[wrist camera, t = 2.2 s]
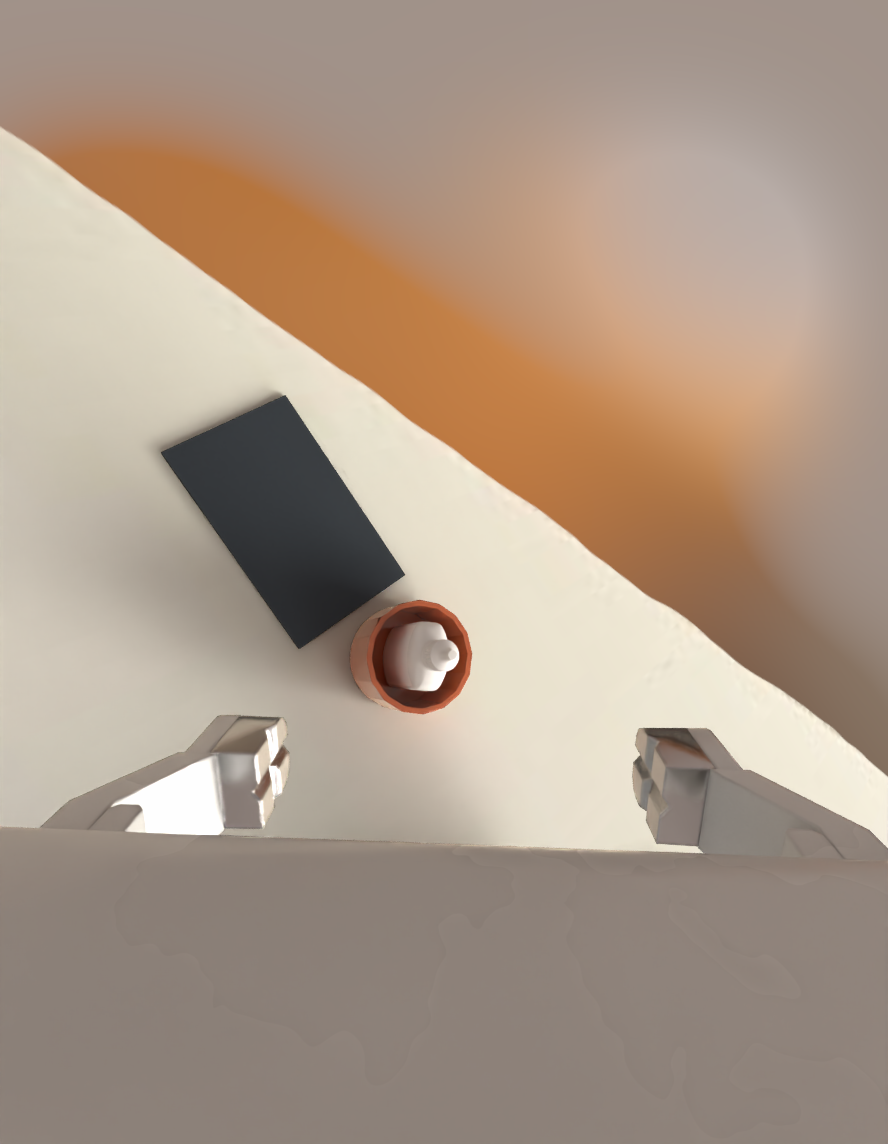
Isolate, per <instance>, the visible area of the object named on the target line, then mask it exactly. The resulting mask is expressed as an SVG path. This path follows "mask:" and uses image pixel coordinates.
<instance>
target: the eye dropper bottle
mask: <svg viewBox="0 0 888 1144" xmlns="http://www.w3.org/2000/svg"><path fill="white" fill-rule="evenodd" d="M458 660H459V651H458V648H457V646H456V645H455V644H454V643H453V642H451V641H450V640H447V637H446V634H445V631H444V629H443V627H442V626H441V625H440V624H438V623H434V622H416V623H410V624H405V625H400V626H396V627H394V628H393V629H391V631H390V633H389V635H388V637H387V640H386V643H385V646H384V651H383V669H384V674H385V678H386V681H387V683H388V685H389V686H391V687H394V688H401V689H410V690H420V691H434V690H437V689H438V688H439V687H440V685H441V683H442V681H443V679H444V677H445V674H446V671H449V670H452V669H453V668H454V667H455V666H456V664H457V663H458Z"/></svg>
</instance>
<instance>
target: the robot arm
mask: <svg viewBox="0 0 888 1144" xmlns="http://www.w3.org/2000/svg"><path fill="white" fill-rule="evenodd" d="M287 735H288V733H287V724H286V721H285V719H284V718H282V717H261V716H241V715H220V716H217V717H216V718H215V719H214V720H213V722H212V723H211V724H210V725H209V726H208V727H207V728H206V729H205V730H204V732H203V733H202V734H201V735H200V736H199V737H198V738H197V739H196V741H195V742H194V743H193V744H192V745H191V746H190V747H189V748H188V749H187V751H186V752H178V753H175V754H173V755H171V756H169V757H166V758H164V759H162V760H160V761H157V762H155V763H153V764H151V765H148V766H146V767H144V768H142V769H139V770H137V771H135V772H133V773H130V774H128V775H126V776H123V777H121V778H119V779H117V780H114V781H112V782H110V783H108V784H105V785H103V786H101V787H99V788H96V789H94V790H92V791H90V792H87V793H85V794H83V795H81V796H78V797H76V798H74V799H72V800H69V801H68V802H67V803H66V804H65V805H64V806H63V807H61V808H60V809H59V810H58V811H57V812H56V813H55V814H54V815H53V816H52V817H51V818H49V819H48V820H47V821H46V822H45V823H44V824H43V825H42V826H41V827H40V828H23V827H0V1144H888V848H887V847H886V846H885V845H884V844H883V843H882V842H881V841H880V840H879V839H878V838H877V837H876V836H875V835H874V834H873V833H872V832H871V831H870V830H868V829H866V828H864V827H862V826H860V825H858V824H856V823H854V822H852V821H850V820H848V819H846V818H844V817H842V816H840V815H838V814H836V813H834V812H832V811H830V810H828V809H826V808H824V807H822V806H820V805H818V804H816V803H814V802H813V801H811V800H809V799H807V798H805V797H803V796H801V795H799V794H797V793H795V792H793V791H791V790H789V789H787V788H785V787H783V786H781V785H779V784H777V783H775V782H773V781H771V780H769V779H767V778H765V777H763V776H761V775H759V774H757V773H755V772H753V771H751V770H743V769H742V768H741V767H740V765H739V764H738V763H737V762H736V761H735V759H734V758H733V757H732V756H731V754H730V753H729V752H728V751H727V750H726V748H725V747H724V746H723V745H722V743H721V742H720V741H719V740H718V739H717V737H716V736H715V735H714V734H713V733H712V731H711V730H709V729H707V728H639V729H638V732H637V735H636V743H635V746H636V748H637V750H638V752H639V753H640V756H639V757H638V758H637V759H636V760H635V761H634V762H633V773H632V778H633V789H634V793H635V797H636V800H637V802H638V804H639V806H640V807H641V808H643V809H644V810H645V811H647V815H646V822H647V824H648V826H649V829H650V831H651V833H652V835H653V837H654V839H655V841H656V844H670V845H686V846H699V847H698V848H699V849H700V850H701V851H702V852H703V853H705V854H702V853H676V852H649V851H623V850H597V849H571V848H544V847H518V846H492V845H466V844H440V843H414V842H388V841H362V840H336V839H310V838H284V837H258V836H231V835H219V834H220V833H221V832H223V831H224V828H237V829H263V828H264V826H265V825H266V823H267V821H268V819H269V817H270V815H271V813H272V811H273V809H274V808H275V806H274V798H276V797H277V796H279V795H280V794H282V792H283V790H284V788H285V786H286V783H287V779H288V775H289V765H290V758H289V751H288V750H287V749H286V748H285V746H284V745H283V742H284V740H285V739H286V737H287Z"/></svg>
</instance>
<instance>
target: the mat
mask: <svg viewBox="0 0 888 1144" xmlns="http://www.w3.org/2000/svg"><path fill="white" fill-rule="evenodd" d="M161 453H162V455H163V457H164V458H165V460H166V461H167V462H168V464H169V465H170V467H171V468H172V470H173V471H174V472H175V474H176V475H177V477H178V478H179V479H180V481H181V482H182V484H183V485H184V487H185V488H186V489H187V491H188V492H189V494H190V495H191V497H192V498H193V499H194V501H195V502H196V504H197V505H198V506H199V508H200V509H201V511H202V512H203V514H204V515H205V516H206V518H207V519H208V521H209V522H210V524H211V525H212V526H213V528H214V529H215V531H216V532H217V534H218V535H219V536H220V538H221V539H222V541H223V542H224V543H225V545H226V546H227V548H228V549H229V551H230V552H231V553H232V555H233V556H234V558H235V559H236V561H237V562H238V563H239V565H240V566H241V568H242V569H243V571H244V572H245V573H246V575H247V576H248V578H249V579H250V580H251V582H252V583H253V585H254V586H255V588H256V589H257V590H258V592H259V593H260V595H261V596H262V598H263V599H264V600H265V602H266V603H267V605H268V606H269V607H270V609H271V610H272V612H273V613H274V615H275V616H276V617H277V619H278V620H279V622H280V623H281V625H282V626H283V627H284V629H285V630H286V632H287V633H288V635H289V636H290V637H291V639H292V640H293V642H294V643H295V644H296V646H297V647H298V649H300V648H301V647H303V646H304V645H306V644H307V643H309V642H310V641H311V640H313V639H314V638H316V637H317V636H319V635H320V634H321V633H323V632H324V631H326V630H327V629H329V628H330V627H331V626H333V625H334V624H336V623H337V622H339V621H340V620H341V619H343V618H344V617H346V616H347V615H349V614H350V613H351V612H353V611H354V610H356V609H357V608H359V607H360V606H361V605H363V604H364V603H366V602H367V601H369V600H370V599H371V598H373V597H374V596H376V595H377V594H379V593H380V592H381V591H383V590H384V589H386V588H387V587H389V586H390V585H391V584H393V583H394V582H396V581H397V580H399V579H400V578H401V577H403V576H404V575H405V574H404V572H403V571H402V569H401V568H400V566H399V565H398V563H397V562H396V560H395V559H394V557H393V556H392V554H391V553H390V551H389V550H388V548H387V547H386V545H385V544H384V542H383V541H382V539H381V538H380V536H379V535H378V533H377V532H376V530H375V529H374V527H373V526H372V524H371V523H370V521H369V520H368V518H367V517H366V515H365V514H364V512H363V511H362V509H361V508H360V506H359V505H358V503H357V502H356V500H355V499H354V497H353V496H352V494H351V493H350V491H349V490H348V488H347V487H346V485H345V484H344V482H343V481H342V479H341V478H340V476H339V475H338V473H337V472H336V470H335V469H334V467H333V466H332V464H331V463H330V461H329V460H328V458H327V457H326V455H325V454H324V452H323V451H322V449H321V448H320V446H319V445H318V443H317V442H316V440H315V439H314V437H313V436H312V434H311V433H310V431H309V430H308V428H307V427H306V425H305V424H304V422H303V421H302V419H301V418H300V416H299V415H298V413H297V412H296V410H295V409H294V407H293V406H292V404H291V403H290V401H289V400H288V398H287V397H286V395H285V396H282V397H280V398H278V399H276V400H274V401H272V402H269V403H267V404H265V405H263V406H261V407H258V408H256V409H254V410H252V411H250V412H248V413H245V414H243V415H241V416H239V417H237V418H235V419H232V420H230V421H228V422H226V423H224V424H221V425H219V426H217V427H215V428H213V429H211V430H208V431H206V432H204V433H202V434H200V435H198V436H195V437H193V438H191V439H189V440H187V441H185V442H182V443H180V444H178V445H176V446H174V447H171V448H169V449H167V450H165V451H163V452H161Z"/></svg>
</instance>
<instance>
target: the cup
mask: <svg viewBox="0 0 888 1144" xmlns="http://www.w3.org/2000/svg"><path fill="white" fill-rule="evenodd" d="M416 622H434V623H438V624H440V625H441V626H442V627H443V629H444V631H445V634H446V637H447V640H450V641H451V642H453V643H454V644H455V645H456V646H457V648H458V651H459V660H458V663H457V664H456V666H455V667H454V668H453V669H452V670H449V671H446V674H445V677H444V679H443V681H442V683H441V685H440V687H439V688H438V689H437V690H434V691H420V690H410V689H401V688H394V687H391V686H389V685H388V683H387V681H386V678H385V674H384V669H383V651H384V646H385V643H386V640H387V637H388V635H389V633H390V631H391V629H393V628H394V627H396V626H400V625H405V624H410V623H416ZM471 659H472V651H471V647H470V642H469V638H468V634H467V632H466V630H465V629H464V627H463V626H462V624H461V623H460V621H459V620H458V618H457V617H456V615H454V614H453V613H451V612H450V611H448V610H447V609H446V608H444V607H443V606H441V605H440V604H437V603H432V602H427V601H422V600H416V601H412V602H407V603H402V604H398V605H395V606H392V607H389V608H386V609H382V610H380V611H378V612H377V613H375V614H374V615H372V616H371V617H369V618H368V619H367V620H366V621H364V622H363V624H362V625H361V627H360V628H359V629H358V631H357V633H356V635H355V637H354V639H353V642H352V646H351V651H350V666H351V671H352V674H353V677H354V680H355V682H356V684H357V685H358V687H359V688H360V690H361V691H362V692H363V693H364V695H365V696H366V697H368V698H369V699H371V700H372V701H373V702H375V703H377V704H379V705H381V706H382V707H386V708H390V709H394V710H398V711H402V712H409V713H417V714H426V713H429V712H433V711H436V710H439V709H442V708H444V707H445V706H447V705H448V704H449V703H450V702H451V701H452V700H453V699H455V698H456V697H457V696H458V695H459V694H460V692H461V691H462V689H463V687H464V685H465V683H466V681H467V679H468V677H469V675H470V667H471Z"/></svg>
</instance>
